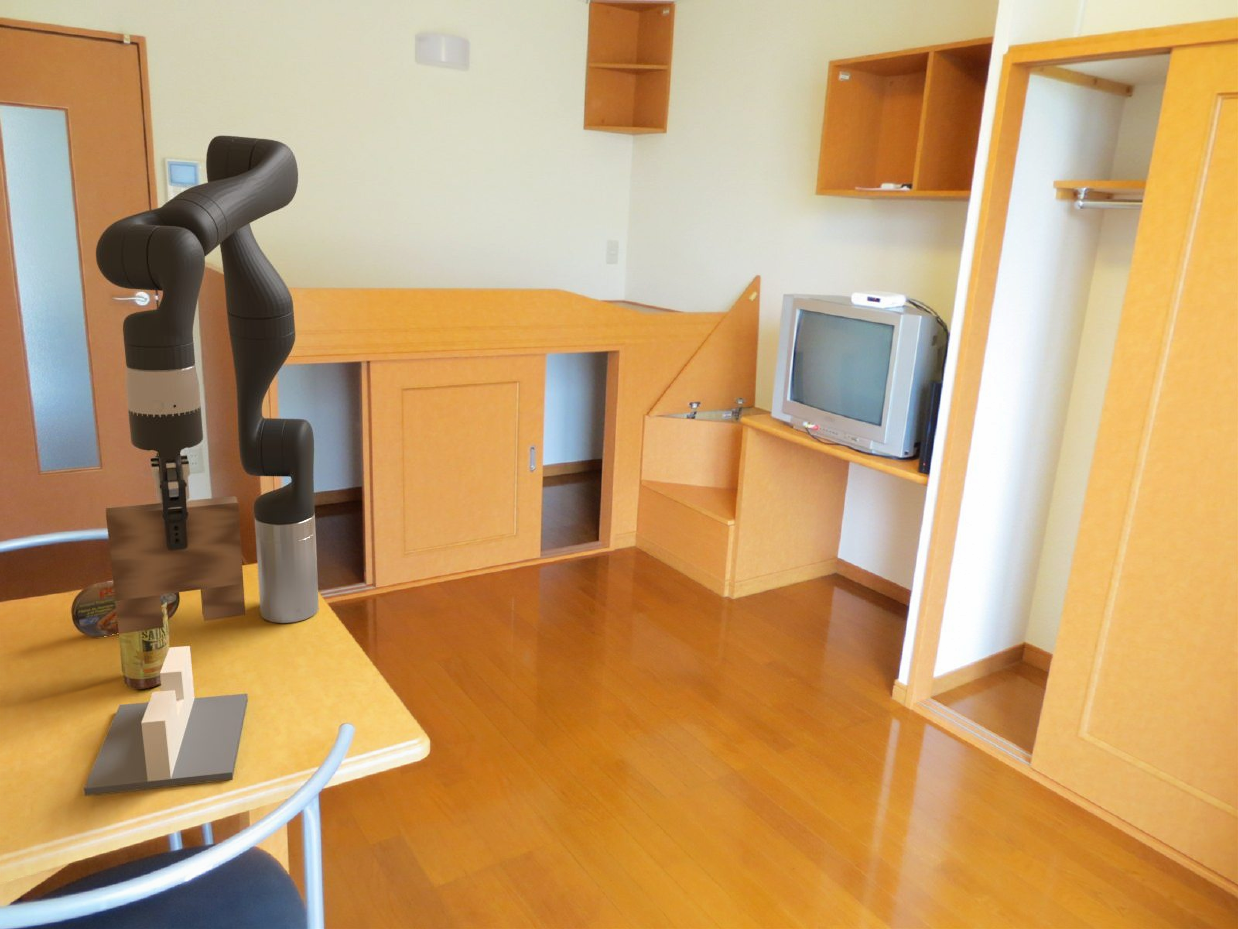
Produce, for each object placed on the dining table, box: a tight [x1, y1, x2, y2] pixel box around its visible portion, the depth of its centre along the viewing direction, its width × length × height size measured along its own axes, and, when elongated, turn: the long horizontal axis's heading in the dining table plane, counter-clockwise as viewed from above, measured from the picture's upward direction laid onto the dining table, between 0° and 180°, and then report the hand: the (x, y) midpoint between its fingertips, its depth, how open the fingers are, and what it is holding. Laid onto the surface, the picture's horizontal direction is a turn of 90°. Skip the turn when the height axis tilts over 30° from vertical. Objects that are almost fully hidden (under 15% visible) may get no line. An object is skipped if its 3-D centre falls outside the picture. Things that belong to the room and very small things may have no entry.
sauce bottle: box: [118, 595, 171, 690], centre depth 128 cm, size 7×6×20 cm
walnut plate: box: [105, 495, 246, 635], centre depth 110 cm, size 14×2×15 cm, turn 118°
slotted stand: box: [83, 645, 249, 796], centre depth 115 cm, size 18×16×9 cm
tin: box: [70, 579, 181, 639], centre depth 143 cm, size 15×3×8 cm, turn 126°
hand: (176, 543), depth 109 cm, fingers closed on walnut plate, 2 cm apart
